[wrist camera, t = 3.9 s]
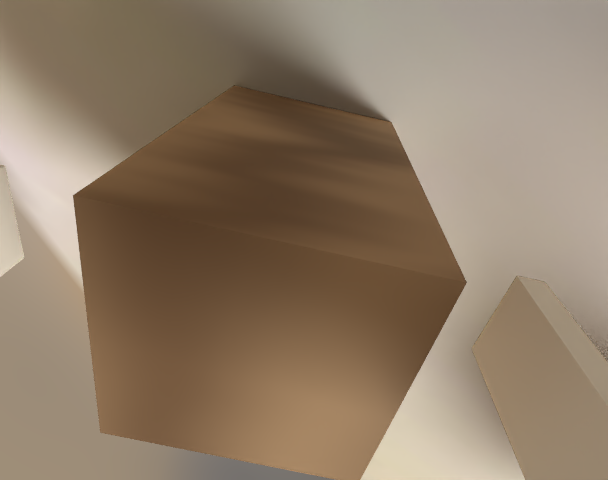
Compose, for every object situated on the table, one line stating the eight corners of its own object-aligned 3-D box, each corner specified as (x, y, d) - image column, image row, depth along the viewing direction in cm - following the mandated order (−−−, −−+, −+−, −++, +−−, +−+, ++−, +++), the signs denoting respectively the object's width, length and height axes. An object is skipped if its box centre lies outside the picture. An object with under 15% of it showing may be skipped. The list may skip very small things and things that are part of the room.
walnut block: (391, 122, 14) (467, 282, 6) (349, 252, 18) (357, 484, 9) (234, 85, 14) (73, 195, 6) (219, 224, 17) (100, 432, 9)
